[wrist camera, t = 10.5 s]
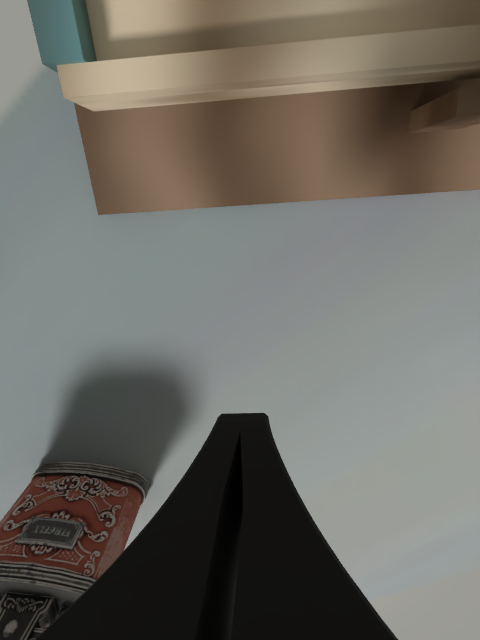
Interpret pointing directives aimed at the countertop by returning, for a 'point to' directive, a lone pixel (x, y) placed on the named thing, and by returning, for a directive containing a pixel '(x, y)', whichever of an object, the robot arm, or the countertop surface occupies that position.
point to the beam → (249, 47)
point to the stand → (285, 147)
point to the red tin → (62, 540)
